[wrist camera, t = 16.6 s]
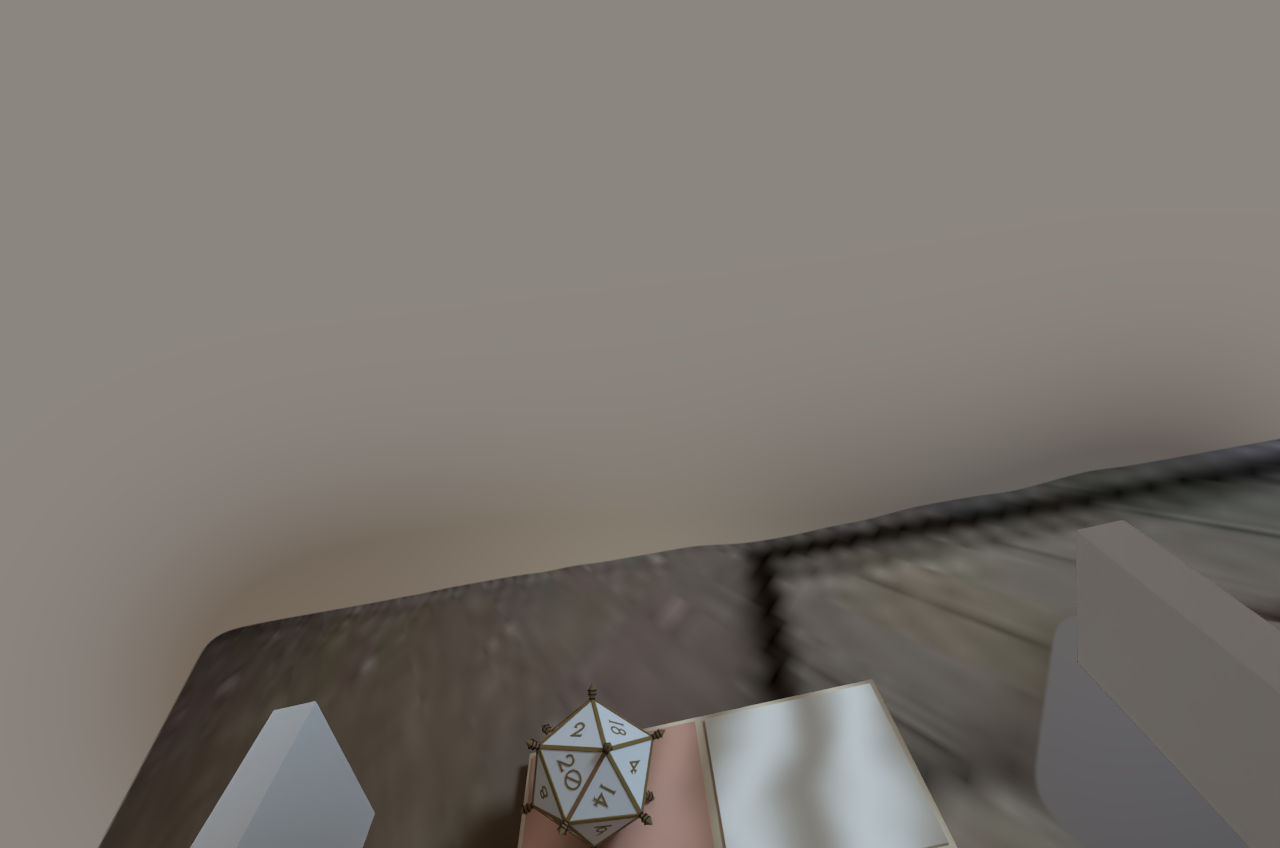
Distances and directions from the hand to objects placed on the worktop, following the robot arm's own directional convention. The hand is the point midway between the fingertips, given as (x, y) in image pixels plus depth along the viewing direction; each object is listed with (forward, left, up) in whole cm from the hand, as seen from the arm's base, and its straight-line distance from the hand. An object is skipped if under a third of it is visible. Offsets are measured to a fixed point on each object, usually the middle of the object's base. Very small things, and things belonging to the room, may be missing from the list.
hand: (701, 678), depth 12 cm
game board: (+2, -22, -30) cm, 37 cm away
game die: (+9, -22, -29) cm, 37 cm away
